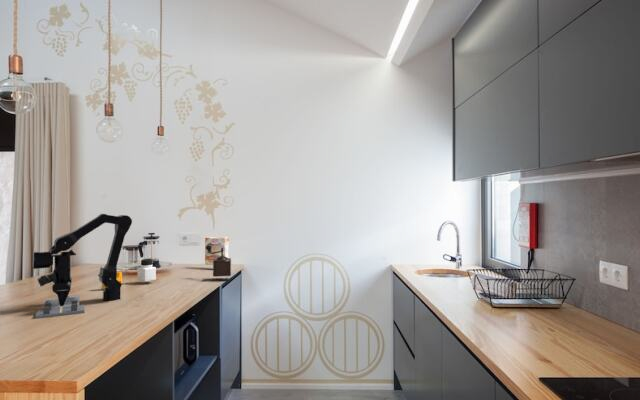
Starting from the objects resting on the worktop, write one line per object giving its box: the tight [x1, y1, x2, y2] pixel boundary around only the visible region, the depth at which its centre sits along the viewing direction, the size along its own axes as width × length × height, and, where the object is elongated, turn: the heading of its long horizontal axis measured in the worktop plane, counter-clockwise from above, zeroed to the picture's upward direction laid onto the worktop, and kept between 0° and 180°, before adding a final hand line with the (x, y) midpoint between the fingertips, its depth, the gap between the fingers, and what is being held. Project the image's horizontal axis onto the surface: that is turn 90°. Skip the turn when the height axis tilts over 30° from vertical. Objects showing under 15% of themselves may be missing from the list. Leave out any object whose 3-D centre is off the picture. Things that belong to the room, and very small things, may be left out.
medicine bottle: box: [137, 258, 157, 283], centre depth 224 cm, size 7×7×12 cm
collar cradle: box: [34, 300, 85, 320], centre depth 157 cm, size 16×10×4 cm, turn 121°
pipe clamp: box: [101, 271, 123, 290], centre depth 208 cm, size 12×4×6 cm, turn 170°
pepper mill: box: [206, 245, 232, 278], centre depth 240 cm, size 16×11×18 cm
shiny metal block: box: [44, 294, 80, 308], centre depth 167 cm, size 12×4×4 cm, turn 127°
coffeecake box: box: [204, 236, 230, 266], centre depth 280 cm, size 15×7×20 cm, turn 81°
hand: (62, 303), depth 167 cm, fingers open, 9 cm apart
